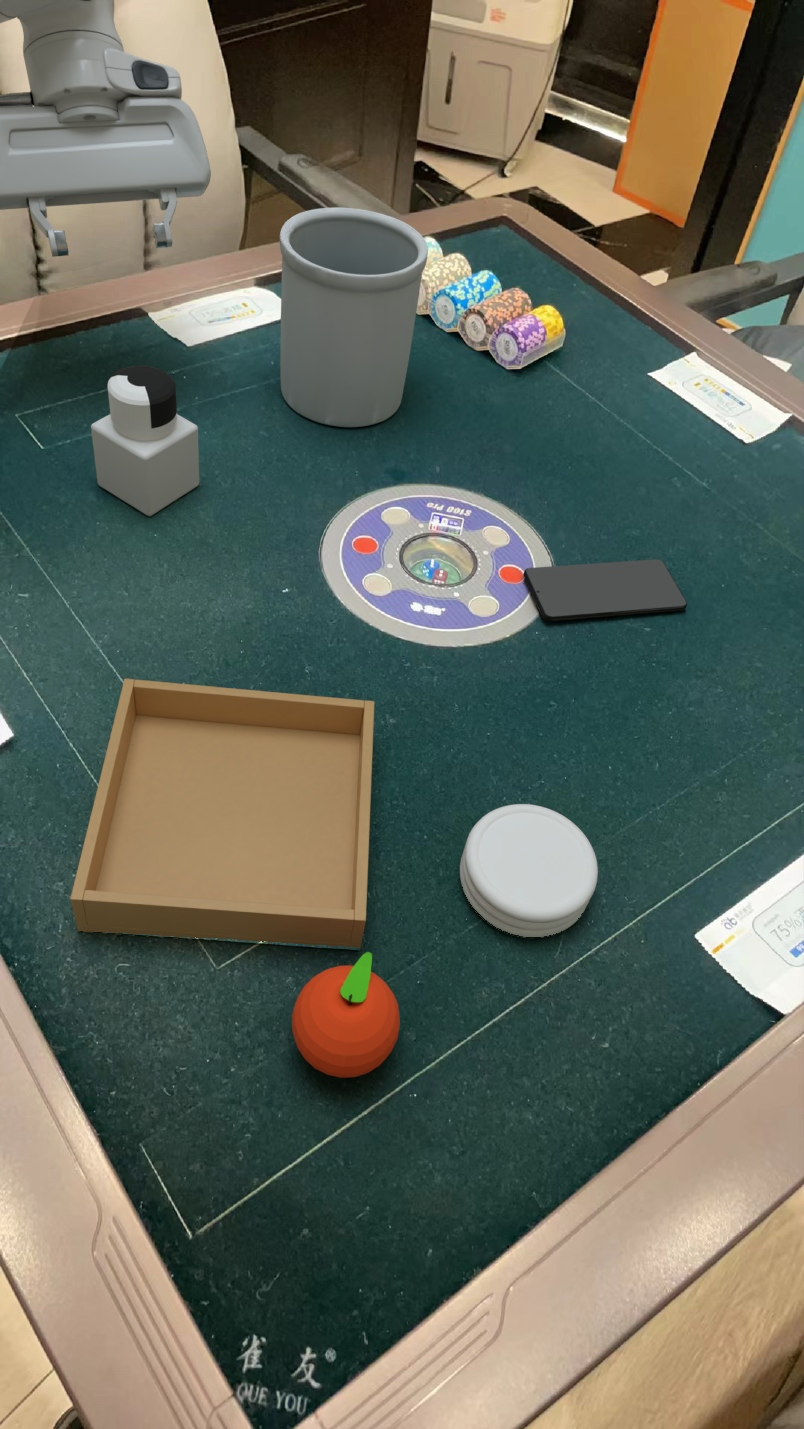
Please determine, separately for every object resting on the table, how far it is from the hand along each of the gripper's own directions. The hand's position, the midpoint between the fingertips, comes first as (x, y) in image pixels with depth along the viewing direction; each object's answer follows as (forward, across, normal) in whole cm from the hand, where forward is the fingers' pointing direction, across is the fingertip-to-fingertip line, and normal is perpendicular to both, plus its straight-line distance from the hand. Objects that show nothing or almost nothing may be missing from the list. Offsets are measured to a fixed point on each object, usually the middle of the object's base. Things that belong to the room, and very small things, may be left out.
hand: (113, 250), depth 97 cm
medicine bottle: (+21, -1, +4) cm, 22 cm away
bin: (+50, -2, -25) cm, 56 cm away
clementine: (+63, +2, -38) cm, 73 cm away
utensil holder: (+13, +23, +14) cm, 30 cm away
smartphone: (+39, +39, -12) cm, 56 cm away
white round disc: (+58, +18, -32) cm, 68 cm away
